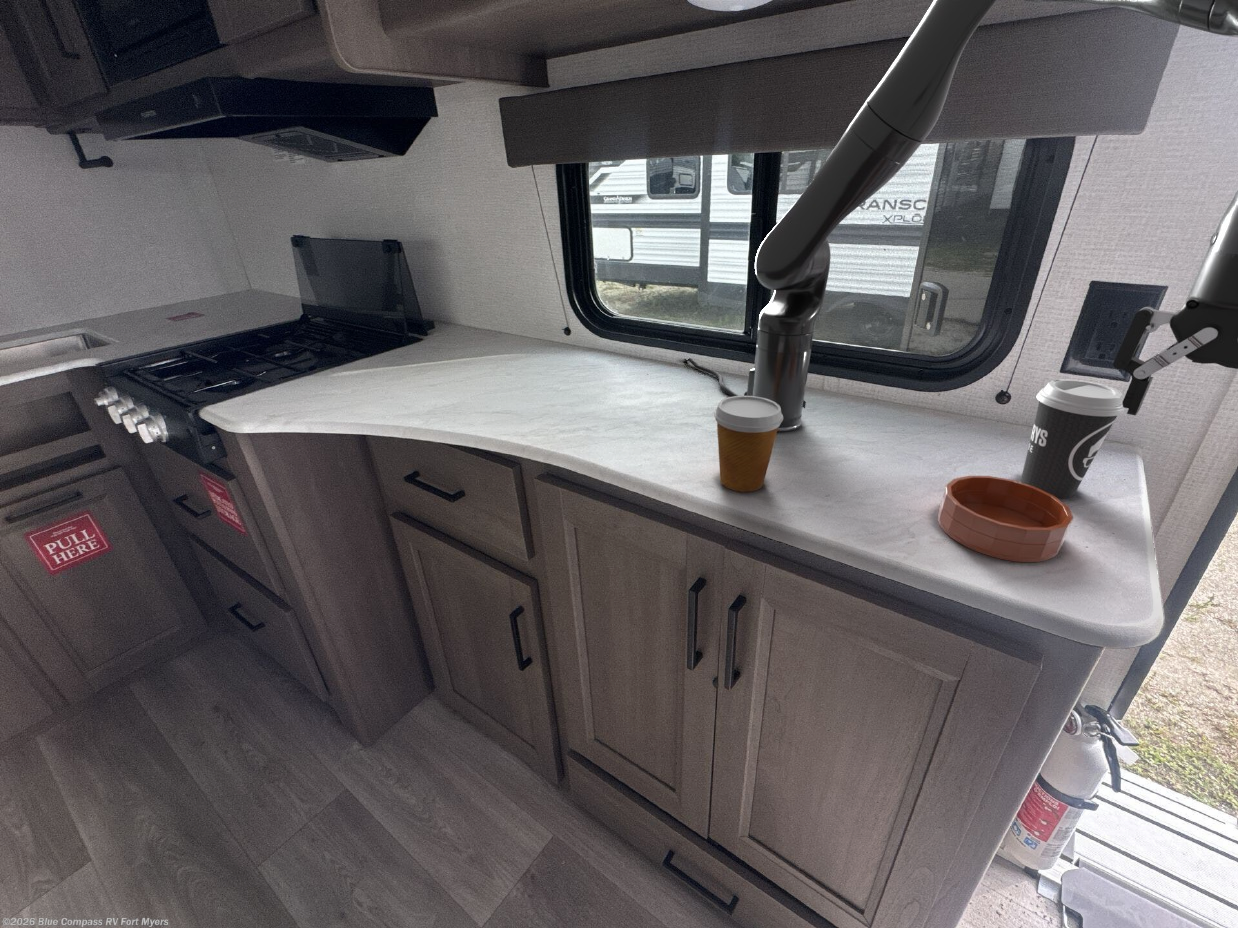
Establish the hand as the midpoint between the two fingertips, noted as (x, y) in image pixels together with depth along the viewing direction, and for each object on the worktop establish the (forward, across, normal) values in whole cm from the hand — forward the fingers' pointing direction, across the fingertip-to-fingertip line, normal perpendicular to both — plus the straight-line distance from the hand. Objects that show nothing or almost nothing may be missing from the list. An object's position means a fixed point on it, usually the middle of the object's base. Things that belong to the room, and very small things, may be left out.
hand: (1186, 424), depth 56 cm
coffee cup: (+18, +11, -18) cm, 28 cm away
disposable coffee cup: (+18, +42, +13) cm, 48 cm away
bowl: (+18, +12, 0) cm, 22 cm away
